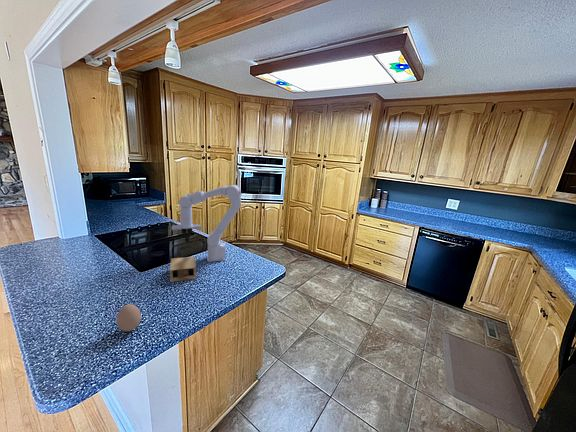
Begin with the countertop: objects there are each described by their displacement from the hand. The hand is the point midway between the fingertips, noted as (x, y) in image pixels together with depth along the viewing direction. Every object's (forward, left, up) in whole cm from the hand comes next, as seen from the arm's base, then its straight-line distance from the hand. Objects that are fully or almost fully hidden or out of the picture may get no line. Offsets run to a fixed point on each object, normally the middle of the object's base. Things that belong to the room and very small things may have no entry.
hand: (187, 241), depth 128 cm
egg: (+18, +52, -10) cm, 56 cm away
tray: (+2, +16, -10) cm, 19 cm away
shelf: (+2, +18, -10) cm, 21 cm away
